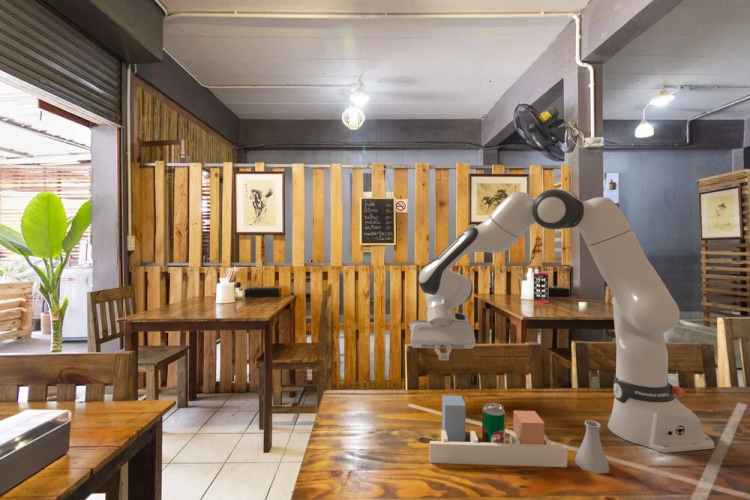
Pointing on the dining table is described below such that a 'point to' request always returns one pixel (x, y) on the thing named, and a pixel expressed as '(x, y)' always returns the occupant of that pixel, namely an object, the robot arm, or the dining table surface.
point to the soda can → (493, 423)
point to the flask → (592, 450)
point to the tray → (498, 452)
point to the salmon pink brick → (528, 427)
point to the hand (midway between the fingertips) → (444, 359)
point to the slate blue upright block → (453, 417)
